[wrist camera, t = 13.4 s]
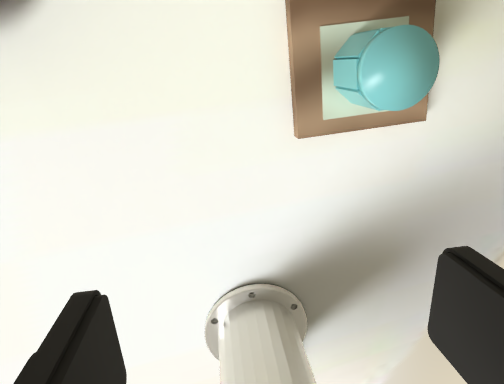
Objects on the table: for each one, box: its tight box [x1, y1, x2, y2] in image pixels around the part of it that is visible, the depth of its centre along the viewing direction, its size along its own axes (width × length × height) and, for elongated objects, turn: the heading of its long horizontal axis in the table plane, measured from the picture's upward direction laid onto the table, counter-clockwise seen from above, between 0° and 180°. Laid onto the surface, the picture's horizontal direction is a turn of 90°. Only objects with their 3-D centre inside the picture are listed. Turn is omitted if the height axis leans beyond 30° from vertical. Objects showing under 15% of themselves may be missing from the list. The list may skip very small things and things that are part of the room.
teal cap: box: [333, 25, 439, 111], centre depth 27 cm, size 6×6×6 cm
